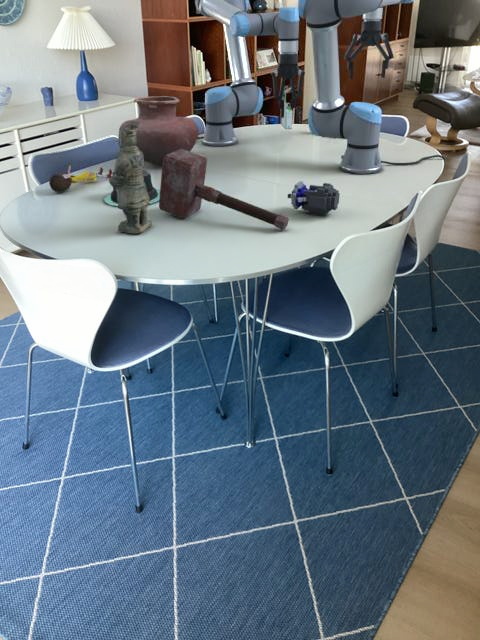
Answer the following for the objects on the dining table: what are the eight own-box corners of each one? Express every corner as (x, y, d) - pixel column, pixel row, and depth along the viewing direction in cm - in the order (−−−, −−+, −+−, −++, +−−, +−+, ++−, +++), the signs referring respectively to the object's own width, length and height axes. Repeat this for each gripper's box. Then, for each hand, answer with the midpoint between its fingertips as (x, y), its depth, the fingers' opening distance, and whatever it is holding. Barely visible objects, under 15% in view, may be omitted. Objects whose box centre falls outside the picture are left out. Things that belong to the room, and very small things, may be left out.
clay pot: (207, 155, 234) (203, 91, 222) (188, 175, 209) (184, 105, 196) (138, 153, 239) (131, 91, 226) (112, 172, 214) (103, 104, 201)
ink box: (288, 124, 232) (290, 88, 225) (291, 129, 223) (294, 92, 216) (280, 124, 231) (282, 88, 224) (283, 129, 223) (285, 92, 216)
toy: (295, 178, 172) (342, 184, 166) (295, 205, 177) (340, 211, 171) (285, 186, 166) (333, 192, 160) (284, 213, 170) (331, 220, 164)
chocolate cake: (91, 202, 180) (113, 186, 197) (142, 231, 182) (160, 212, 199) (107, 162, 172) (129, 148, 190) (160, 192, 174) (177, 176, 192)
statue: (131, 220, 168) (117, 116, 152) (158, 224, 164) (147, 118, 149) (109, 233, 159) (93, 124, 144) (138, 237, 156) (124, 126, 140)
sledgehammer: (299, 190, 156) (179, 147, 167) (285, 200, 148) (161, 154, 160) (286, 244, 166) (174, 200, 177) (272, 256, 158) (156, 209, 170)
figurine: (118, 166, 204) (64, 174, 185) (119, 186, 207) (65, 196, 188) (93, 161, 211) (38, 168, 191) (95, 181, 214) (40, 190, 195)
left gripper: (307, 51, 217) (305, 114, 229) (266, 52, 216) (266, 116, 228) (310, 53, 211) (308, 117, 222) (268, 54, 210) (268, 119, 221)
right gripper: (399, 19, 224) (393, 76, 235) (338, 20, 223) (335, 77, 234) (405, 19, 218) (399, 78, 229) (343, 21, 217) (339, 80, 227)
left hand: (287, 116), depth 225 cm, fingers closed on ink box, 3 cm apart
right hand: (366, 78), depth 231 cm, fingers open, 13 cm apart
